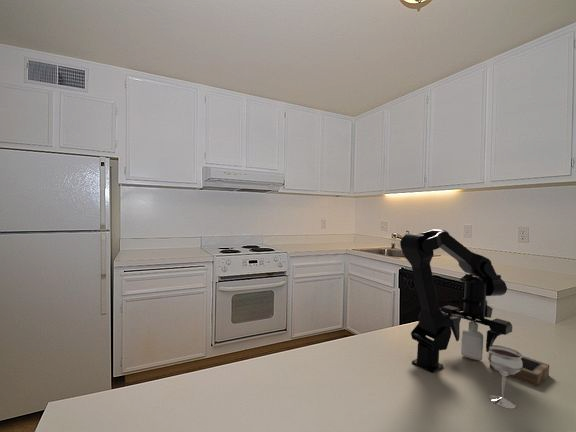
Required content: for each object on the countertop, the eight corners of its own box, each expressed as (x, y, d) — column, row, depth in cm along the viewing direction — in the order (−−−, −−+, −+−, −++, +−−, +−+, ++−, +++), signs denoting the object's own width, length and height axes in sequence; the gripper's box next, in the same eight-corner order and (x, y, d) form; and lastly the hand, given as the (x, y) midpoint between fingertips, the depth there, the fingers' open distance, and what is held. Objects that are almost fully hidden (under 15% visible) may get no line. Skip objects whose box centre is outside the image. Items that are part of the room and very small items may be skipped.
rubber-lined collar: (537, 386, 78) (537, 375, 78) (489, 367, 87) (490, 357, 87) (548, 375, 84) (549, 364, 84) (503, 359, 93) (504, 349, 93)
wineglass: (481, 399, 70) (484, 349, 70) (490, 389, 75) (492, 342, 75) (516, 414, 65) (519, 361, 65) (523, 403, 70) (526, 353, 70)
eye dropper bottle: (476, 362, 88) (478, 322, 88) (458, 354, 93) (460, 316, 93) (484, 359, 90) (487, 321, 90) (466, 351, 95) (468, 315, 95)
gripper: (520, 301, 89) (517, 352, 89) (455, 287, 104) (453, 331, 104) (506, 305, 83) (503, 361, 83) (440, 290, 98) (437, 337, 98)
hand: (472, 346), depth 92 cm, fingers closed on eye dropper bottle, 8 cm apart
